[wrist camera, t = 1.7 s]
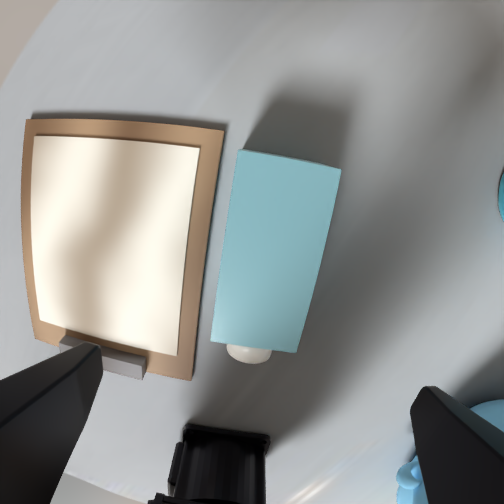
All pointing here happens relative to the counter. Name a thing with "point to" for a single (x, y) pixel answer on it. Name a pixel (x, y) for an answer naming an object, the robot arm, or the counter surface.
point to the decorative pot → (409, 475)
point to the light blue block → (271, 252)
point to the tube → (501, 197)
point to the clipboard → (118, 237)
